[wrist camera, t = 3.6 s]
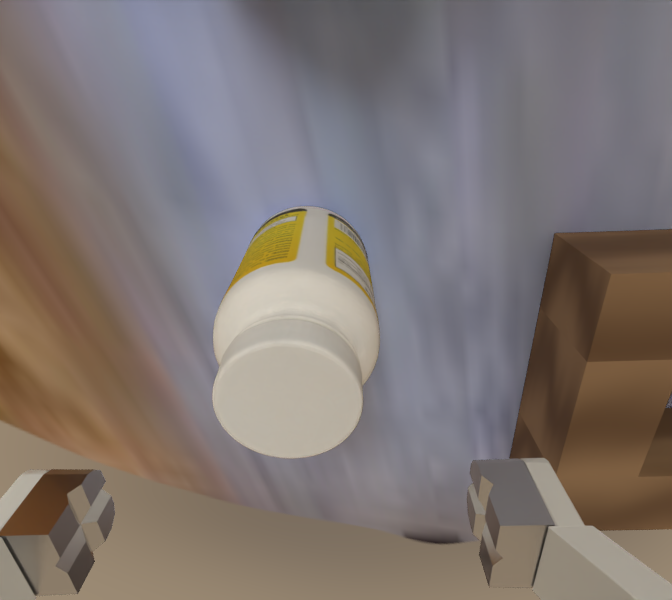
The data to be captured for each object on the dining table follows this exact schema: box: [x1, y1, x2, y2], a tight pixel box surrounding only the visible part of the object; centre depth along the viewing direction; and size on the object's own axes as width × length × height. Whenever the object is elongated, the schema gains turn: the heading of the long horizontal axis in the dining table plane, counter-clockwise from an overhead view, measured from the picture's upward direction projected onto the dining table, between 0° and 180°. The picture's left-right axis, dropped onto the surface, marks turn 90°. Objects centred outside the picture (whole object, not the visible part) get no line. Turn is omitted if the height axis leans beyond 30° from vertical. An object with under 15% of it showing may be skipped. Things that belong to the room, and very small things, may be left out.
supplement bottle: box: [212, 206, 380, 459], centre depth 16 cm, size 5×5×10 cm
